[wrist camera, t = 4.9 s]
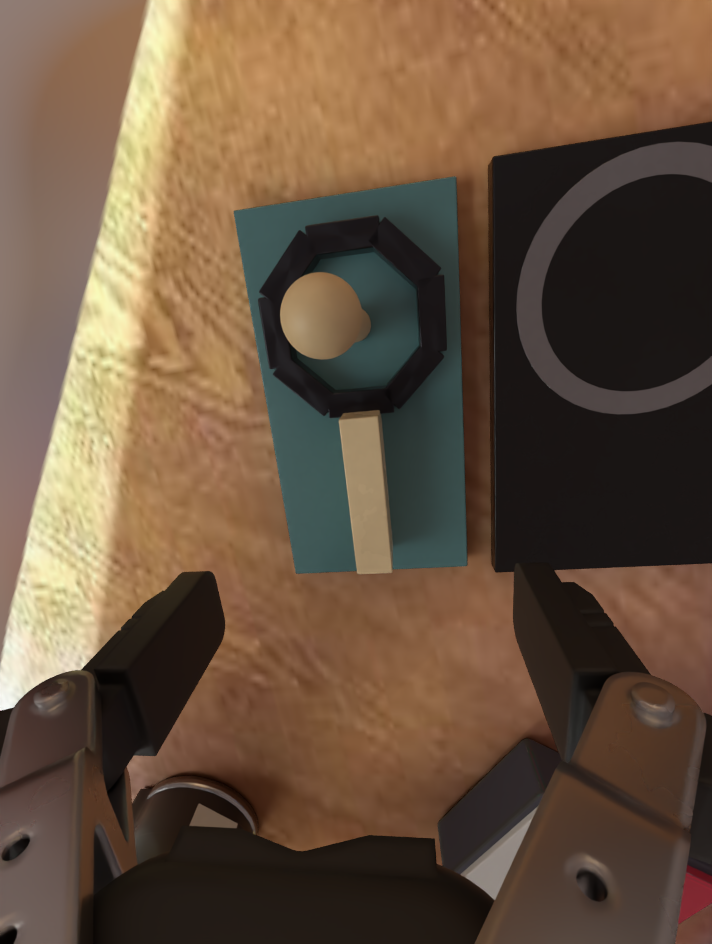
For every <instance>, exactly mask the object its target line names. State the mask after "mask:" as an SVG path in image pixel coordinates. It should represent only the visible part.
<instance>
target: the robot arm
mask: <svg viewBox="0 0 712 944" xmlns="http://www.w3.org/2000/svg"><path fill="white" fill-rule="evenodd" d="M513 623H514V631H515V635H516V639H517V643H518V645H519V648H520V651H521V653H522V656H523V659H524V661H525V664H526V667H527V669H528V672H529V675H530V677H531V680H532V683H533V685H534V688H535V691H536V693H537V696H538V699H539V701H540V704H541V706H542V709H543V712H544V714H545V717H546V720H547V722H548V725H549V728H550V730H551V733H552V736H553V738H554V741H555V744H556V746H557V749H558V752H559V754H560V757H561V760H562V761H561V762H560V763H559V764H558V766H557V768H556V769H555V771H554V773H553V775H552V778H551V780H550V782H549V784H548V786H547V788H546V790H545V793H544V795H543V797H542V799H541V801H540V803H539V806H538V808H537V810H536V812H535V814H534V816H533V819H532V821H531V823H530V825H529V827H528V829H527V832H526V834H525V836H524V838H523V840H522V842H521V845H520V847H519V849H518V851H517V853H516V855H515V857H514V860H513V862H512V864H511V866H510V868H509V870H508V873H507V875H506V877H505V879H504V881H503V883H502V886H501V888H500V890H499V892H498V894H497V896H496V899H495V900H494V899H493V898H492V897H491V896H490V895H489V894H487V893H486V892H485V891H484V890H483V889H481V888H480V887H478V886H477V885H476V884H474V883H473V882H472V881H470V880H469V879H467V878H465V877H464V876H462V875H460V874H458V873H456V872H454V871H453V870H451V869H448V868H446V867H443V866H441V865H438V864H436V851H435V839H431V838H412V837H393V836H374V835H368V836H364V837H360V838H356V839H352V840H348V841H344V842H340V843H336V844H332V845H328V846H324V847H320V848H316V849H312V850H308V851H295V850H292V849H289V848H287V847H284V846H282V845H279V844H277V843H275V842H272V841H270V840H267V839H265V838H262V837H260V836H257V833H258V821H257V817H256V815H255V812H254V810H253V809H252V807H251V806H250V804H249V803H248V802H247V801H246V800H245V799H244V798H243V797H242V796H241V795H240V794H238V793H237V792H236V791H234V790H233V789H231V788H229V787H228V786H226V785H224V784H222V783H219V782H217V781H214V780H211V779H207V778H203V777H197V776H177V777H172V778H169V779H166V780H163V781H161V782H159V783H158V784H157V785H155V786H154V787H153V788H152V789H141V790H140V791H139V793H138V794H137V796H136V798H135V800H134V801H133V803H132V798H131V786H130V776H129V772H128V770H127V767H126V766H127V765H128V763H129V762H130V760H131V759H132V757H133V755H139V756H156V755H157V753H158V751H159V750H160V748H161V746H162V744H163V743H164V741H165V739H166V737H167V736H168V734H169V732H170V731H171V729H172V727H173V725H174V724H175V722H176V720H177V718H178V717H179V715H180V713H181V711H182V710H183V708H184V706H185V705H186V703H187V701H188V699H189V698H190V696H191V694H192V692H193V691H194V689H195V687H196V685H197V684H198V682H199V680H200V679H201V677H202V675H203V673H204V672H205V670H206V668H207V666H208V665H209V663H210V661H211V660H212V658H213V656H214V654H215V653H216V651H217V649H218V647H219V646H220V644H221V642H222V639H223V636H224V631H225V618H224V613H223V609H222V605H221V600H220V596H219V592H218V587H217V583H216V579H215V576H214V574H213V573H212V572H210V571H200V572H182V573H181V574H180V575H179V576H178V577H177V578H176V579H175V580H174V581H173V582H172V583H171V585H170V586H169V587H168V588H167V589H166V590H165V591H162V592H160V593H159V594H157V595H156V596H154V597H153V598H151V599H150V600H148V601H147V602H145V603H144V604H143V605H142V606H141V607H140V608H139V609H138V610H137V611H136V612H135V614H134V615H133V616H132V619H129V620H128V621H127V622H126V623H125V624H124V625H123V626H122V627H121V631H118V632H117V633H116V634H115V635H114V636H113V637H112V638H111V639H110V640H109V641H108V642H107V643H106V644H105V645H104V646H103V647H102V648H101V650H100V651H99V652H98V653H97V654H96V655H95V656H94V657H93V658H92V659H91V660H90V661H89V662H88V663H87V664H86V665H85V666H84V668H83V669H82V670H75V671H69V672H65V673H62V674H59V675H56V676H54V677H52V678H50V679H48V680H46V681H44V682H42V683H40V684H39V685H37V686H36V687H34V688H33V689H32V690H30V691H29V692H28V693H27V694H25V695H24V696H23V697H22V698H21V699H20V700H19V701H18V703H17V704H16V705H15V707H14V708H11V709H6V710H2V711H0V944H675V941H676V934H677V928H678V921H679V915H680V908H681V902H682V895H683V889H684V882H685V876H686V869H687V863H688V856H689V857H692V858H694V859H697V860H700V861H703V862H705V863H708V864H711V865H712V716H711V715H708V714H706V713H703V712H702V710H701V708H700V707H699V706H698V704H697V703H696V702H695V701H694V700H693V699H692V698H691V697H690V696H689V695H688V694H686V693H685V692H684V691H682V690H681V689H680V688H678V687H677V686H675V685H673V684H671V683H669V682H667V681H665V680H663V679H661V678H658V677H655V676H652V675H651V674H650V673H649V671H648V670H647V669H646V667H645V666H644V665H643V663H642V662H641V661H640V659H639V658H638V656H637V655H636V654H635V652H634V651H633V650H632V648H631V647H630V645H629V644H628V643H627V641H626V640H625V639H624V637H623V636H622V634H621V633H620V632H619V630H618V629H617V628H616V627H614V625H613V622H612V621H611V619H610V618H609V617H608V615H607V614H606V613H604V610H603V608H602V607H601V606H600V604H599V603H598V602H597V600H596V599H595V597H594V596H593V595H592V594H591V593H589V592H588V591H586V590H585V589H583V588H582V587H580V586H579V585H577V584H576V583H575V582H561V581H560V579H559V577H558V576H557V574H556V573H555V571H554V570H553V568H552V567H551V565H550V564H549V563H548V562H536V563H516V565H515V569H514V597H513Z"/></svg>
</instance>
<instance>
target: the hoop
mask: <svg viewBox="0 0 712 944" xmlns="http://www.w3.org/2000/svg"><path fill="white" fill-rule="evenodd" d="M305 232H306V234H305V233H304V232H302V231H301V230H299V231H298V232H297V234H296V235H295V237H294V238H293V240H292V241H291V243H290V244H289V246H288V247H287V249H286V251H285V252H284V254H283V255H282V257H281V258H280V260H279V261H278V263H277V264H276V266H275V267H274V269H273V270H272V272H271V274H270V275H269V277H268V278H267V280H266V281H265V283H264V284H263V286H262V287H261V289H260V290H259V293H260V294H261V295H262V296H264V297H262V298H258V304H259V311H260V317H261V323H262V329H263V335H264V341H265V347H266V353H267V359H268V365H269V368H270V369H276V370H275V371H274V373H273V376H274V377H276V378H277V379H278V380H279V381H281V382H282V383H283V384H284V385H286V386H287V387H288V388H289V389H291V390H292V391H293V392H294V393H295V394H297V395H298V396H299V397H300V398H302V399H303V400H304V401H305V402H307V403H308V404H309V405H310V406H312V407H313V408H314V409H315V410H316V411H318V412H319V413H320V414H321V415H323V416H325V415H326V414H327V413H329V418H340V417H341V418H340V419H339V428H340V436H341V444H342V452H343V461H344V469H345V477H346V485H347V494H348V502H349V510H350V518H351V527H352V535H353V543H354V551H355V560H356V568H357V574H378V573H392V572H393V541H392V530H391V519H390V507H389V496H388V485H387V474H386V463H385V451H384V440H383V429H382V418H381V414H384V413H394V409H395V407H396V408H398V409H401V407H402V406H403V405H404V404H405V403H406V402H407V400H408V399H409V398H410V397H411V396H412V395H413V393H414V392H415V391H416V390H417V389H418V388H419V386H420V385H421V384H422V383H423V382H424V381H425V379H426V378H427V377H428V376H429V375H430V374H431V372H432V371H433V370H434V369H435V368H436V367H437V365H438V364H439V363H440V362H441V361H442V360H443V358H444V355H443V354H442V353H441V351H446V350H447V332H446V306H445V281H444V275H443V274H441V275H437V274H438V273H439V271H440V270H441V267H440V266H439V265H438V264H437V263H435V262H434V261H433V260H432V259H431V258H430V257H429V256H428V255H427V254H426V253H424V252H423V251H422V250H421V249H420V248H419V247H418V246H417V245H416V244H415V243H413V242H412V241H411V240H410V239H409V238H408V237H407V236H406V235H405V234H404V233H402V232H401V231H400V230H399V229H398V228H397V227H396V226H395V225H394V224H393V223H391V222H390V221H389V220H388V219H387V218H386V217H384V218H383V219H382V221H381V222H380V220H379V216H378V215H374V216H367V217H360V218H354V219H347V220H340V221H333V222H327V223H320V224H313V225H307V226H305ZM371 252H375V253H376V254H377V255H378V256H379V257H380V258H381V259H383V260H384V261H385V262H386V263H387V264H388V265H389V266H390V267H391V268H393V269H394V270H395V271H396V272H397V273H398V274H399V275H400V276H402V277H403V278H404V279H405V280H406V281H407V282H408V283H409V284H411V285H412V286H413V287H414V288H415V289H416V302H417V320H418V337H419V346H418V347H417V348H416V349H415V350H414V352H413V353H412V354H411V355H410V357H409V358H408V359H407V360H406V361H405V363H404V364H403V365H402V366H401V367H400V369H399V370H398V371H397V372H396V374H395V375H394V376H393V377H392V378H391V380H390V381H389V382H388V383H387V384H386V386H375V387H365V388H355V389H345V390H335V389H334V388H333V387H332V386H330V385H329V384H328V383H327V382H326V381H324V380H323V379H322V378H321V377H320V376H318V375H317V374H316V373H315V372H313V371H312V370H311V369H310V368H309V367H307V366H306V365H305V364H304V363H302V362H301V361H300V360H299V359H298V358H297V353H296V349H295V348H294V347H293V346H292V345H291V344H290V342H289V341H288V339H287V338H286V336H285V334H284V332H283V329H282V325H281V319H280V310H281V304H282V300H283V298H284V295H285V293H286V292H287V290H288V289H289V287H290V286H291V285H292V284H293V283H294V282H295V281H296V280H298V279H299V278H301V277H303V276H305V275H307V274H310V273H312V271H313V270H314V269H315V267H316V266H317V264H318V263H319V261H320V260H321V259H327V258H335V257H342V256H349V255H356V254H364V253H371ZM394 406H395V407H394Z"/></svg>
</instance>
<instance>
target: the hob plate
mask: <svg viewBox="0 0 712 944" xmlns="http://www.w3.org/2000/svg"><path fill="white" fill-rule="evenodd" d="M488 214H489V328H490V442H491V556H492V566H493V568H494V570H495V572H514V569H515V565H516V563H536V562H548V563H549V564H550V565H551V567H552V568H553V570H565V569H588V568H612V567H635V566H659V565H682V564H706V563H712V122H707V123H700V124H694V125H688V126H682V127H675V128H669V129H663V130H657V131H650V132H644V133H638V134H631V135H625V136H619V137H613V138H606V139H600V140H594V141H588V142H581V143H575V144H569V145H563V146H556V147H550V148H544V149H537V150H531V151H525V152H519V153H512V154H506V155H500V156H494V157H493V158H492V160H491V162H490V163H489V165H488Z"/></svg>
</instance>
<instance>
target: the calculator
mask: <svg viewBox="0 0 712 944" xmlns="http://www.w3.org/2000/svg"><path fill="white" fill-rule="evenodd" d="M561 761H562V760H561V757H560V754H559V753H558V752H556V751H554V750H552V749H550V748H548V747H546V746H544V745H541V744H539V743H537V742H535V741H533V740H531V739H524V740H522V741H521V742H520V743H519V744H518V745H517V746H516V747H515V748H514V749H513V750H512V751H511V752H510V753H509V754H508V755H507V756H506V757H504V758H503V759H502V760H501V761H500V762H499V763H498V764H497V765H496V766H495V767H494V768H493V769H492V770H491V771H490V772H489V773H488V774H487V775H486V776H485V777H484V778H483V779H482V780H481V781H480V782H479V783H478V784H477V785H476V786H475V787H474V788H473V789H472V790H471V791H470V792H469V793H468V794H467V795H466V796H465V797H464V798H463V799H461V800H460V801H459V802H458V803H457V804H456V805H455V806H454V807H453V808H452V809H451V810H450V811H449V812H448V813H447V814H446V815H445V816H444V817H443V818H442V819H441V820H440V821H439V822H438V832H439V840H440V849H441V857H442V865H443V867H446V868H448V869H451V870H453V871H454V872H456V873H458V874H460V875H462V876H464V877H465V878H467V879H469V880H470V881H472V882H473V883H474V884H476V885H477V886H478V887H480V888H481V889H483V890H484V891H485V892H486V893H487V894H489V895H490V896H491V897H492V898H493V899H494V900H495V899H496V896H497V894H498V892H499V890H500V888H501V886H502V883H503V881H504V879H505V877H506V875H507V873H508V870H509V868H510V866H511V864H512V862H513V860H514V857H515V855H516V853H517V851H518V849H519V847H520V845H521V842H522V840H523V838H524V836H525V834H526V832H527V829H528V827H529V825H530V823H531V821H532V819H533V816H534V814H535V812H536V810H537V808H538V806H539V803H540V801H541V799H542V797H543V795H544V793H545V790H546V788H547V786H548V784H549V782H550V780H551V778H552V775H553V773H554V771H555V769H556V768H557V766H558V764H559V763H560V762H561ZM711 903H712V865H711V864H708V863H705V862H703V861H700V860H697V859H694V858H692V857H689V856H688V863H687V869H686V876H685V882H684V889H683V895H682V902H681V908H680V915H679V921H678V924H679V923H681V922H683V921H684V920H686V919H687V918H689V917H690V916H692V915H694V914H695V913H697V912H698V911H700V910H702V909H703V908H705V907H706V906H708V905H710V904H711Z"/></svg>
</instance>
